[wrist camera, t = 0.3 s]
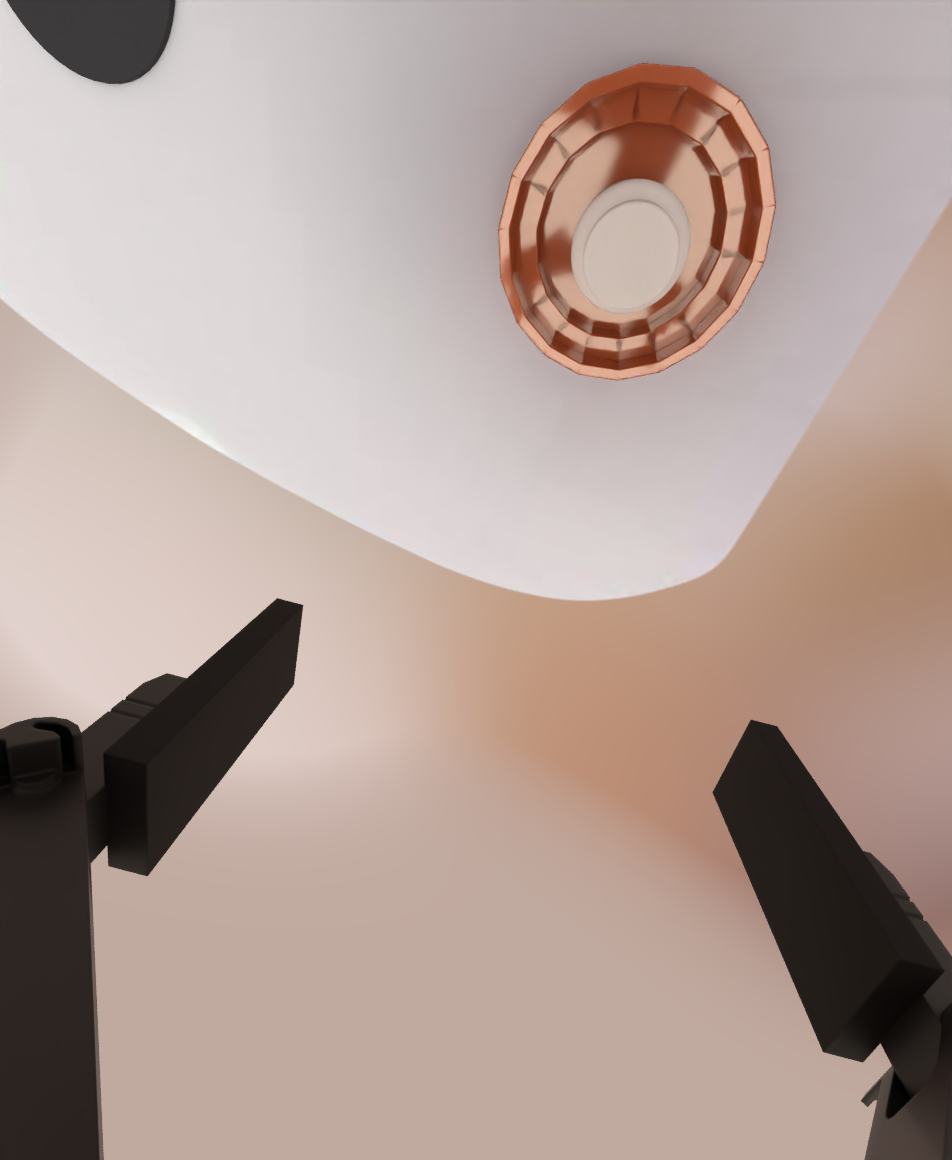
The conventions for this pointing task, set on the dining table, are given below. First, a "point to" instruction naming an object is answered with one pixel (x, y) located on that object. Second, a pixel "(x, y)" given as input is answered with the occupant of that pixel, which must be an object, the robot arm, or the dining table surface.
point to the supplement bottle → (630, 245)
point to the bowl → (638, 151)
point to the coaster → (100, 34)
